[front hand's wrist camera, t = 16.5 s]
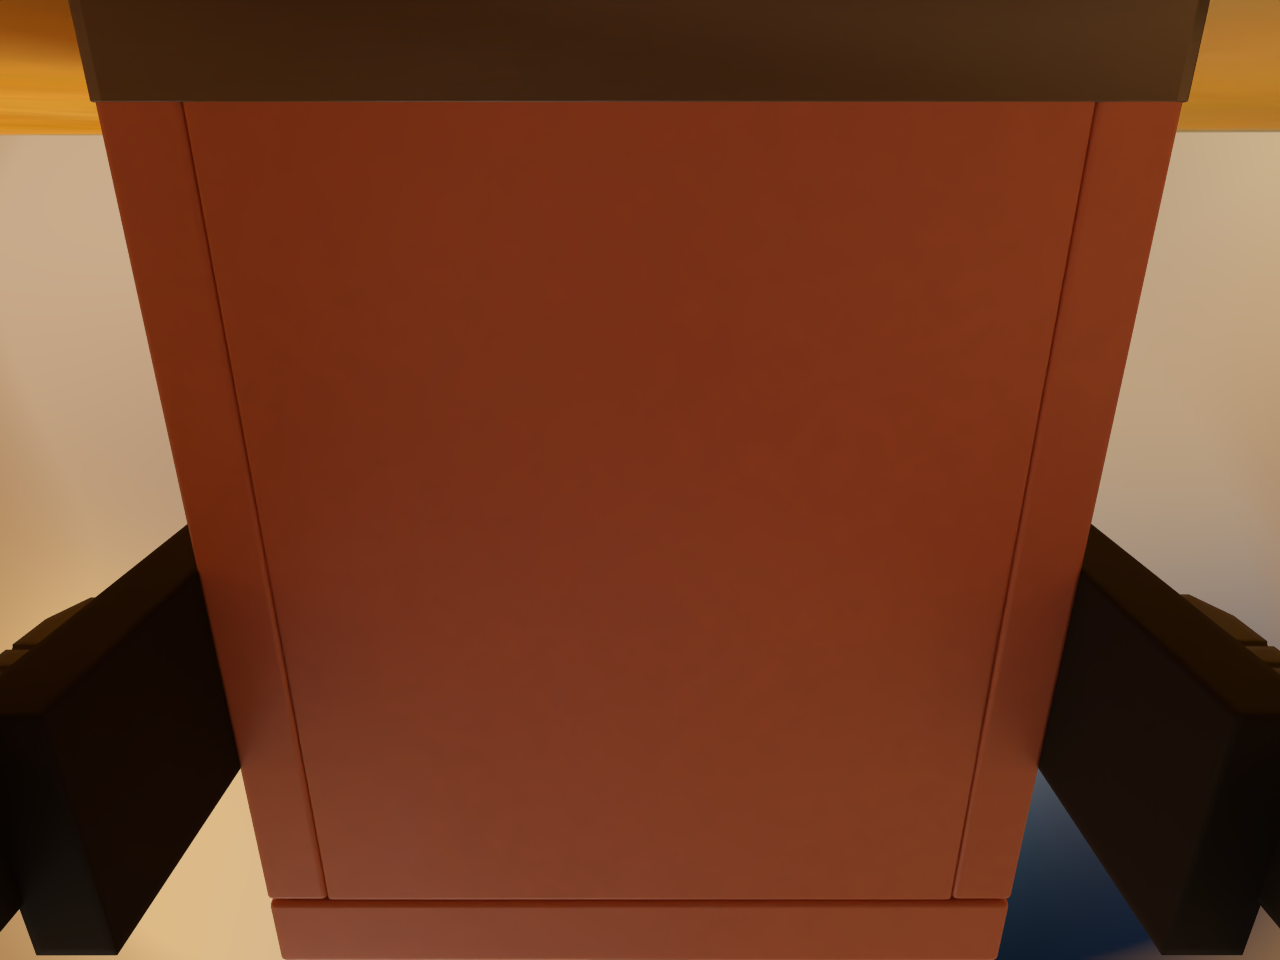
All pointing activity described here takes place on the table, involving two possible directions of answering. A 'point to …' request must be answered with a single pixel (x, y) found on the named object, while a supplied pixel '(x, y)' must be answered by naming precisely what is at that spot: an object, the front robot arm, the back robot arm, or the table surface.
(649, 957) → the lid
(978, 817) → the chest
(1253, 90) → the table surface
